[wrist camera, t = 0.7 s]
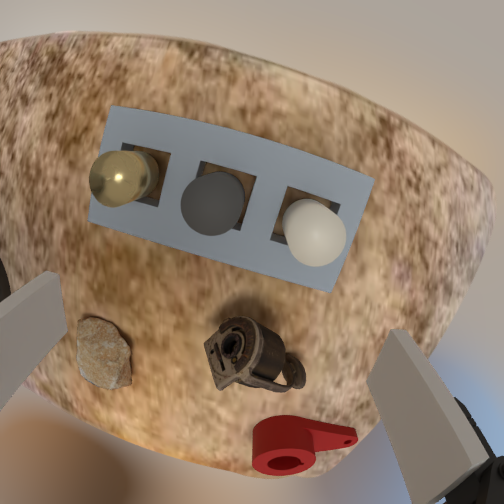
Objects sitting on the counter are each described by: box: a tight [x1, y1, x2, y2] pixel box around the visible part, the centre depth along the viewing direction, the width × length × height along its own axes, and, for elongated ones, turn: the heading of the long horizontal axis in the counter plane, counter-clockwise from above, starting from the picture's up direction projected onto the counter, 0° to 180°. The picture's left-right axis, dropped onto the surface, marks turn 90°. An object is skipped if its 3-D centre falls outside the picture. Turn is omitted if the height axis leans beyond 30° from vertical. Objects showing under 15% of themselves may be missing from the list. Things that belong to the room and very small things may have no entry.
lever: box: [252, 415, 358, 476], centre depth 37 cm, size 18×9×7 cm, turn 79°
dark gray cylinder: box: [180, 172, 245, 236], centre depth 22 cm, size 4×4×5 cm
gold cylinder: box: [89, 151, 159, 208], centre depth 22 cm, size 4×4×5 cm
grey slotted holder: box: [88, 105, 375, 293], centre depth 27 cm, size 26×12×3 cm, turn 73°
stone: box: [76, 317, 132, 390], centre depth 32 cm, size 8×10×4 cm
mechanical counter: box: [204, 316, 306, 392], centre depth 28 cm, size 7×13×10 cm, turn 60°
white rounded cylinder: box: [282, 199, 346, 267], centre depth 23 cm, size 4×4×5 cm
